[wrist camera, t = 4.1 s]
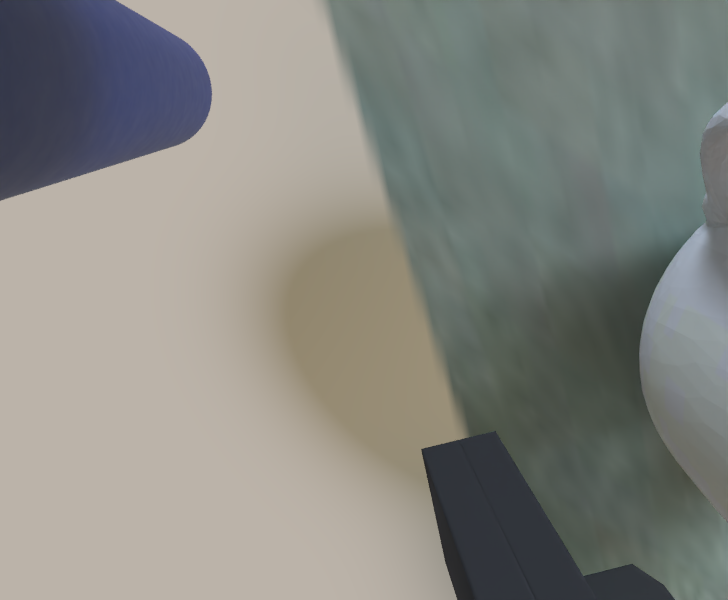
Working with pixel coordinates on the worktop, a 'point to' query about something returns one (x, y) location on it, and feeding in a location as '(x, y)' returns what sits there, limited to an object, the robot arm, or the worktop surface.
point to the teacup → (695, 336)
